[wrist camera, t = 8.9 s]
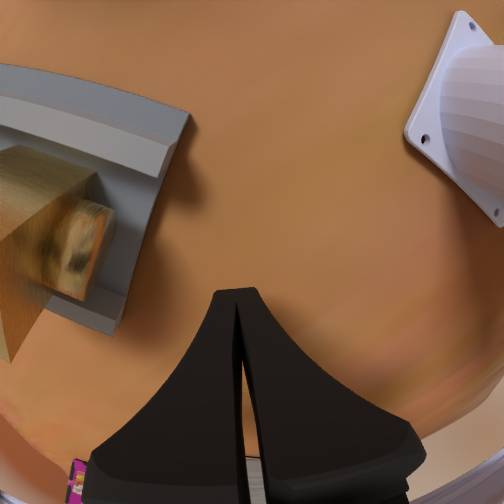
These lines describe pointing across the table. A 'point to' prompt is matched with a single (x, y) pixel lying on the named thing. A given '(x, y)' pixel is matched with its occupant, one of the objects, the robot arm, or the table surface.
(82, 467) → the candy bar box
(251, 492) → the skincare box
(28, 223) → the valve
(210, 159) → the table surface
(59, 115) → the grey piece
